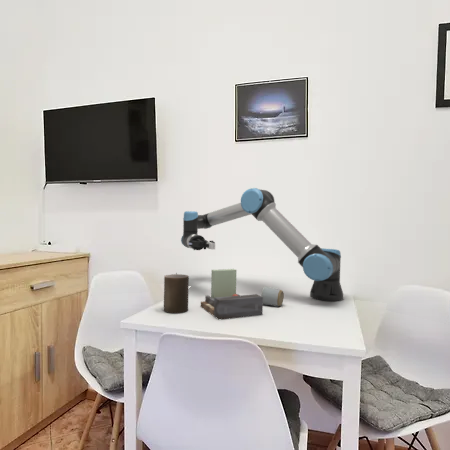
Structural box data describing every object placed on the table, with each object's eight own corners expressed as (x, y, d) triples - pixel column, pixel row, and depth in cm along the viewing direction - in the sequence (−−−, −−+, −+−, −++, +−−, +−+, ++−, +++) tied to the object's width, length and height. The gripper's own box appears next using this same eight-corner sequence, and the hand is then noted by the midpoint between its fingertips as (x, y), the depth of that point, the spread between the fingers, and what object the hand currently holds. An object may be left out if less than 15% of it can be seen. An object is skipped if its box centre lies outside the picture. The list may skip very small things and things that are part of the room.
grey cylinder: (278, 308, 149) (279, 289, 149) (260, 305, 153) (260, 287, 153) (286, 303, 159) (287, 286, 158) (268, 301, 162) (269, 284, 162)
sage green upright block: (211, 301, 150) (211, 269, 150) (232, 299, 154) (233, 268, 154) (213, 302, 147) (214, 270, 147) (235, 300, 151) (236, 269, 151)
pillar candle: (186, 313, 138) (187, 274, 138) (161, 313, 138) (162, 274, 138) (189, 307, 148) (190, 271, 148) (165, 307, 148) (166, 270, 148)
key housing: (200, 306, 150) (200, 288, 150) (239, 303, 157) (240, 285, 157) (219, 319, 131) (219, 299, 131) (262, 315, 139) (262, 295, 138)
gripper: (208, 249, 186) (226, 254, 164) (183, 249, 180) (199, 255, 159) (208, 234, 185) (227, 237, 164) (183, 234, 180) (199, 238, 159)
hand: (213, 246), depth 161 cm, fingers closed
